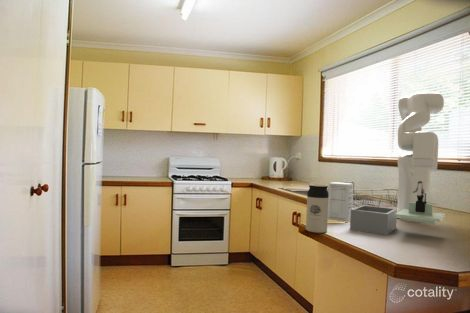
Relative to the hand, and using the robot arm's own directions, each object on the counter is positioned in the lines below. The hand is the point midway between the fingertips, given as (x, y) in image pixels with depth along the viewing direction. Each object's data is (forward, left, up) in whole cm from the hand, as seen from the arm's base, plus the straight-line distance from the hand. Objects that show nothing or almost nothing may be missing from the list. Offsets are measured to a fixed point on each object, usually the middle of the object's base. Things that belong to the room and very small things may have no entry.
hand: (420, 211), depth 144 cm
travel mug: (+22, -33, -10) cm, 41 cm away
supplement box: (-12, -35, -10) cm, 38 cm away
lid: (0, 0, -3) cm, 3 cm away
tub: (0, -17, -9) cm, 19 cm away
